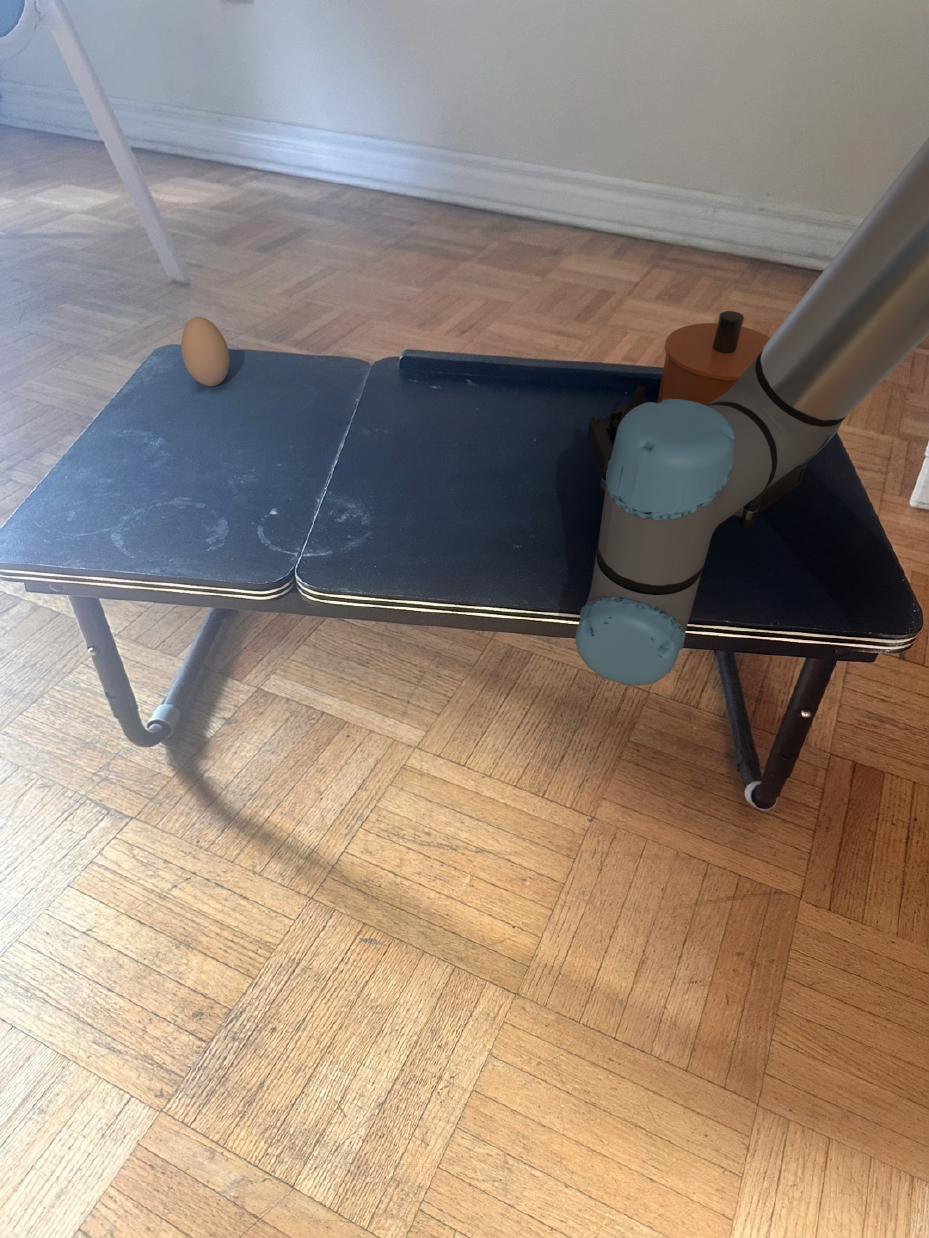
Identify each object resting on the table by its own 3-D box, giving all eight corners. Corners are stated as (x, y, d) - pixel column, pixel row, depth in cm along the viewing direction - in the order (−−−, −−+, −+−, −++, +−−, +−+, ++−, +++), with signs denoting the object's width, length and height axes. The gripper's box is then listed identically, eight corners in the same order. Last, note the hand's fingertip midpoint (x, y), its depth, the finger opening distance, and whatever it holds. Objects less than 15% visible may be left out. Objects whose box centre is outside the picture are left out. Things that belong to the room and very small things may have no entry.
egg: (194, 399, 96) (177, 331, 90) (186, 379, 99) (169, 312, 94) (239, 390, 98) (225, 323, 92) (229, 370, 101) (215, 305, 95)
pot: (749, 400, 96) (768, 331, 90) (766, 454, 88) (788, 381, 82) (651, 396, 97) (664, 326, 91) (659, 449, 89) (673, 376, 83)
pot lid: (770, 335, 91) (781, 293, 87) (791, 389, 82) (805, 345, 79) (659, 330, 91) (666, 289, 88) (668, 383, 83) (677, 340, 80)
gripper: (520, 533, 74) (582, 420, 88) (807, 602, 68) (824, 467, 82) (524, 463, 69) (590, 354, 83) (836, 530, 62) (849, 399, 77)
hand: (706, 410), depth 82 cm, fingers open, 13 cm apart
